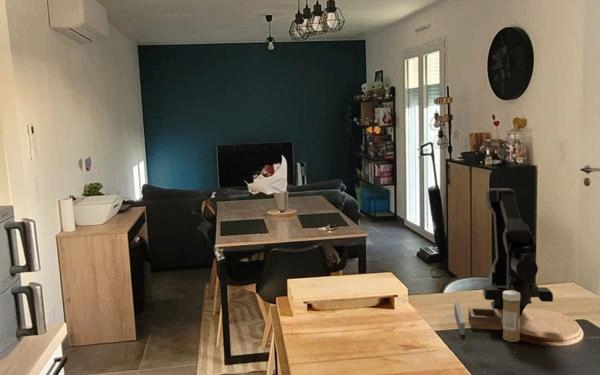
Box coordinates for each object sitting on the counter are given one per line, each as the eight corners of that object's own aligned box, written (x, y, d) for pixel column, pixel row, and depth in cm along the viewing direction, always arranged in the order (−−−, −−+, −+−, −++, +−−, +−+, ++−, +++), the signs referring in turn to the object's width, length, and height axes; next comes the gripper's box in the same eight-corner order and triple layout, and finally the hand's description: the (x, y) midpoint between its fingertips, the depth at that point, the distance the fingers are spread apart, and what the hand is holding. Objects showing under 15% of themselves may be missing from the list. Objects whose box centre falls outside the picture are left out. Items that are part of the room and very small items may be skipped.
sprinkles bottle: (523, 340, 151) (523, 292, 150) (513, 343, 149) (513, 295, 148) (509, 335, 155) (509, 288, 154) (498, 339, 153) (499, 291, 152)
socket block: (468, 318, 170) (468, 307, 169) (496, 320, 168) (497, 308, 168) (471, 328, 162) (471, 316, 161) (501, 329, 160) (501, 317, 160)
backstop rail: (454, 312, 176) (454, 301, 176) (458, 312, 176) (458, 302, 176) (460, 334, 157) (460, 322, 156) (464, 334, 156) (464, 323, 156)
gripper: (488, 276, 156) (487, 329, 157) (558, 278, 152) (557, 332, 153) (482, 267, 166) (482, 317, 168) (548, 268, 163) (547, 319, 164)
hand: (516, 321), depth 163 cm, fingers closed
